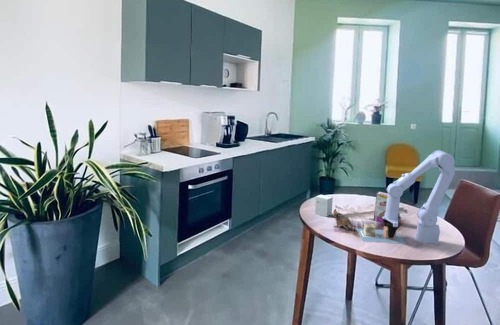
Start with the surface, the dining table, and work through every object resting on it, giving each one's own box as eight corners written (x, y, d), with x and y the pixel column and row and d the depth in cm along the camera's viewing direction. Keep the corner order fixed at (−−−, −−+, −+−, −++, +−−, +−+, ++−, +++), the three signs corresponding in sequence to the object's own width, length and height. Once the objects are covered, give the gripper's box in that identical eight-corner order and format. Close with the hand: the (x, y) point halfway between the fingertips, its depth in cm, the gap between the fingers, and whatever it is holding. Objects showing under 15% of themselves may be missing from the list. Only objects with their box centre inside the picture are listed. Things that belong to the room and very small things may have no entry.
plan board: (395, 232, 184) (395, 230, 184) (406, 245, 168) (406, 243, 168) (355, 229, 185) (355, 228, 185) (362, 242, 170) (362, 241, 169)
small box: (331, 215, 206) (333, 197, 204) (326, 217, 202) (328, 199, 200) (319, 211, 211) (320, 194, 209) (314, 213, 207) (315, 196, 205)
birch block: (372, 232, 180) (373, 224, 179) (374, 236, 176) (375, 227, 175) (363, 232, 180) (364, 223, 179) (365, 235, 176) (366, 227, 175)
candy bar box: (372, 222, 197) (376, 193, 193) (375, 219, 201) (378, 191, 197) (394, 227, 191) (398, 197, 187) (396, 224, 195) (400, 195, 192)
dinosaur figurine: (327, 226, 188) (328, 209, 186) (332, 224, 192) (334, 207, 190) (351, 234, 179) (353, 216, 177) (356, 231, 183) (358, 213, 182)
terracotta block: (392, 235, 177) (393, 226, 176) (395, 239, 173) (396, 230, 172) (382, 234, 178) (383, 226, 177) (385, 238, 173) (386, 229, 172)
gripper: (379, 203, 180) (376, 229, 183) (388, 213, 166) (385, 241, 168) (394, 204, 179) (391, 230, 182) (404, 214, 165) (400, 242, 168)
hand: (389, 235), depth 175 cm, fingers closed on terracotta block, 4 cm apart
